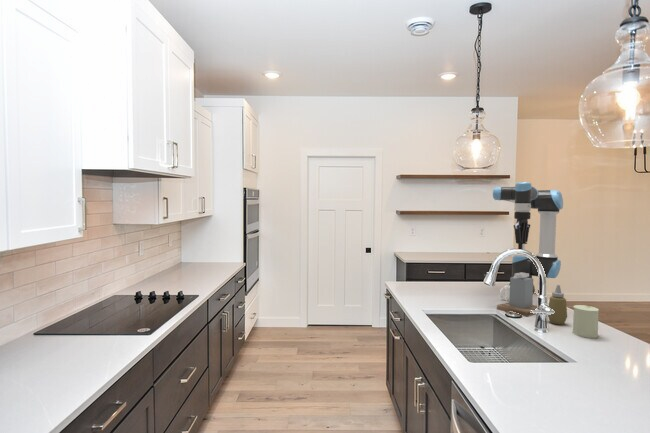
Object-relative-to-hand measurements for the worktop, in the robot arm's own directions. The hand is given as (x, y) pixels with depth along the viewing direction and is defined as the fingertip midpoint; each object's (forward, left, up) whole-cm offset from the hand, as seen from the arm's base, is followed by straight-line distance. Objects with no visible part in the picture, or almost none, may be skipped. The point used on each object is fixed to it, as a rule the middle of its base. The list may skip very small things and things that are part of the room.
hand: (521, 256), depth 202 cm
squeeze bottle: (+8, +22, -29) cm, 37 cm away
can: (+14, +36, -29) cm, 49 cm away
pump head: (+3, +1, -19) cm, 19 cm away
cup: (-13, -14, -29) cm, 34 cm away
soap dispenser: (+1, +1, -26) cm, 26 cm away
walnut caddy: (+1, +1, -28) cm, 28 cm away
